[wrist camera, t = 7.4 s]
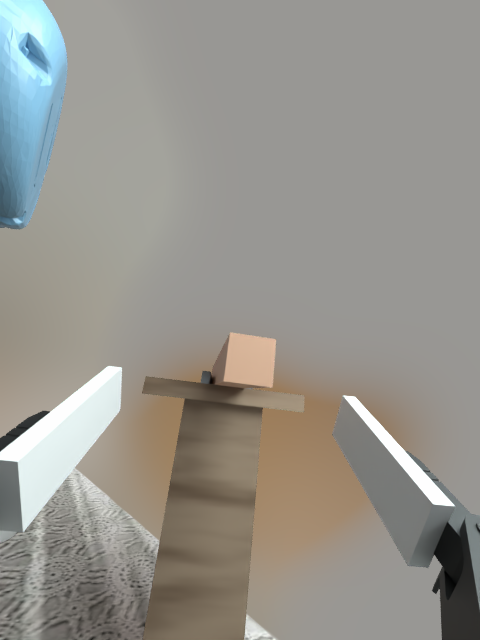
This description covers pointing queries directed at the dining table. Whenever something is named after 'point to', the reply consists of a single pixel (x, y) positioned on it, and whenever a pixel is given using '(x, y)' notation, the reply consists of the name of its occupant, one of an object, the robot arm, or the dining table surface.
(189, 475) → the wooden post with band
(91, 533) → the dining table surface
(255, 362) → the bar
